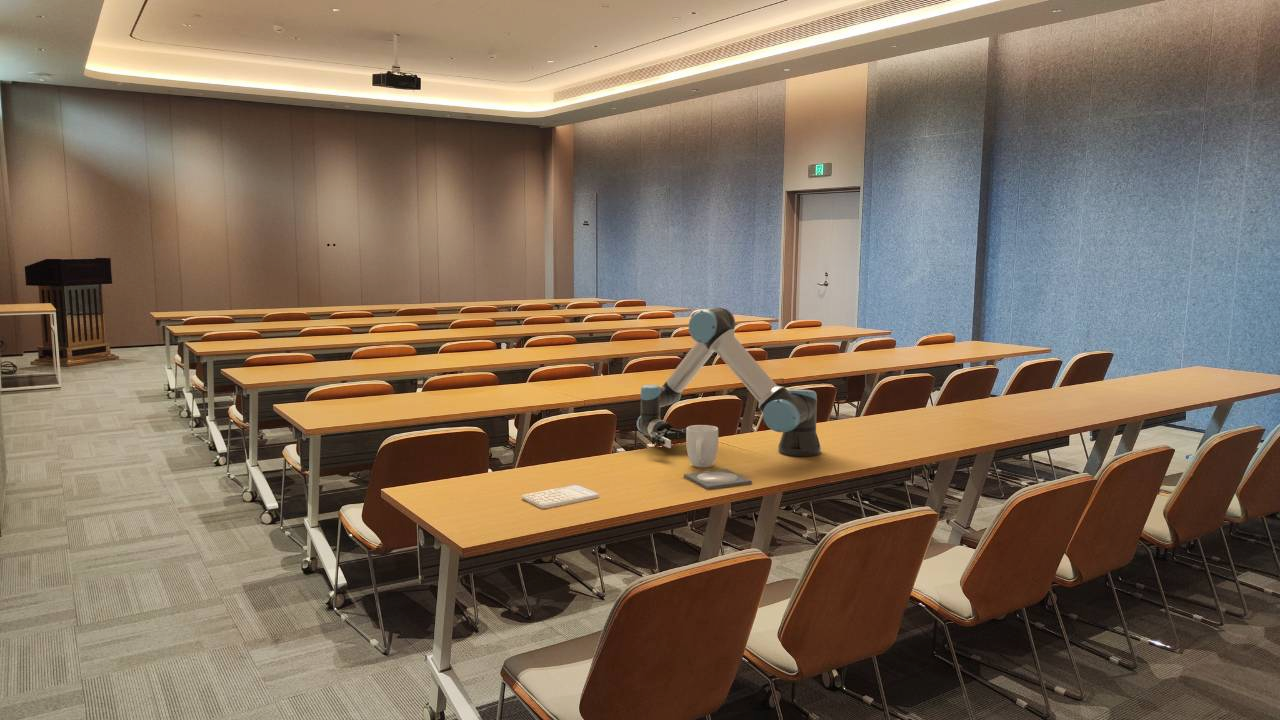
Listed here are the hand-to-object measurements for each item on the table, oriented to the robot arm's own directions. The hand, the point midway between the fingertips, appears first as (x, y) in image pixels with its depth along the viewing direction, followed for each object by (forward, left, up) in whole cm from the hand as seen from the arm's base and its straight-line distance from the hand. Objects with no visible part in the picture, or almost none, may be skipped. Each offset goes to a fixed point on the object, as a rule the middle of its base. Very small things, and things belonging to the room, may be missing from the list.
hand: (687, 442), depth 303 cm
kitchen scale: (+4, +29, -6) cm, 30 cm away
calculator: (+56, +26, -7) cm, 62 cm away
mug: (0, +11, -6) cm, 12 cm away
